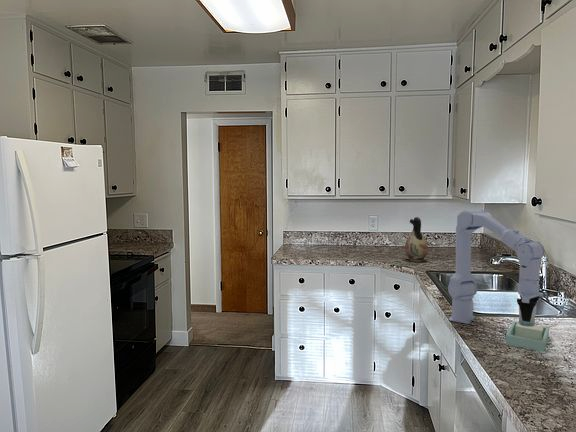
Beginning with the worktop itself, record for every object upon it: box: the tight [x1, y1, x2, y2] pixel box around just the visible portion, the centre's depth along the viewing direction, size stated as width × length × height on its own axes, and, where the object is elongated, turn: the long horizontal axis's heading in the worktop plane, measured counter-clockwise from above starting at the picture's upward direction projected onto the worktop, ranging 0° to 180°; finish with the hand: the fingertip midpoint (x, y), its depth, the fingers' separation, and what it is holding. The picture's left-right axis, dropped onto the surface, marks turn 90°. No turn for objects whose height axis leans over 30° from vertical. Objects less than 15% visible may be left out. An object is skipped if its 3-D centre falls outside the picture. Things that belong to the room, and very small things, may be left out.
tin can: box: [518, 306, 536, 327], centre depth 138 cm, size 5×5×7 cm
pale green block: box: [515, 321, 545, 341], centre depth 145 cm, size 5×8×4 cm, turn 54°
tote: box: [504, 320, 550, 352], centre depth 142 cm, size 16×11×4 cm
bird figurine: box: [404, 216, 429, 263], centre depth 281 cm, size 17×15×30 cm
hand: (527, 319), depth 138 cm, fingers closed on tin can, 5 cm apart
